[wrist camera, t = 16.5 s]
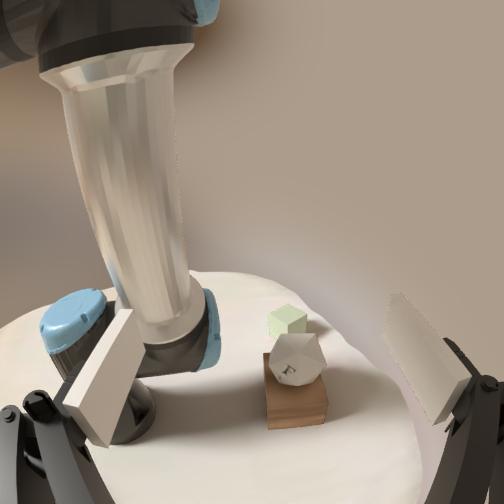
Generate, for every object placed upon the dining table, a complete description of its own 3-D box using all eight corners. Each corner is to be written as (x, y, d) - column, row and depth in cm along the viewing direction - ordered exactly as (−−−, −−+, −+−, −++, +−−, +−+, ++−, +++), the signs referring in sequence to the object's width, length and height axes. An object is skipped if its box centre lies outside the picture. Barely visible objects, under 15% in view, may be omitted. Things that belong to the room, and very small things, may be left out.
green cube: (268, 335, 63) (268, 313, 61) (287, 324, 67) (288, 303, 65) (287, 347, 59) (287, 324, 57) (305, 335, 62) (307, 313, 60)
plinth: (323, 423, 39) (328, 402, 37) (268, 429, 39) (267, 408, 37) (310, 371, 51) (312, 349, 49) (264, 375, 51) (263, 353, 49)
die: (259, 370, 46) (254, 360, 37) (291, 330, 49) (293, 311, 40) (299, 398, 42) (304, 396, 34) (330, 357, 45) (341, 343, 37)
